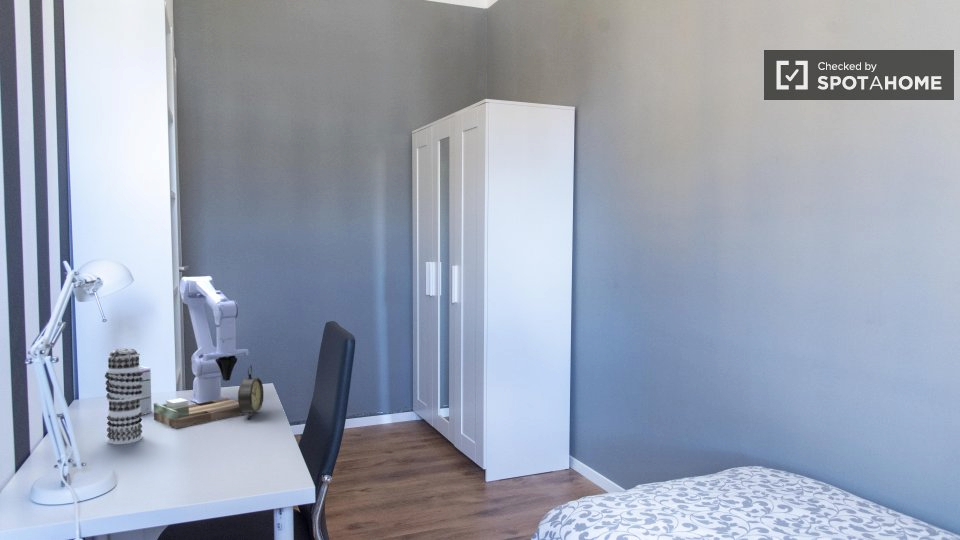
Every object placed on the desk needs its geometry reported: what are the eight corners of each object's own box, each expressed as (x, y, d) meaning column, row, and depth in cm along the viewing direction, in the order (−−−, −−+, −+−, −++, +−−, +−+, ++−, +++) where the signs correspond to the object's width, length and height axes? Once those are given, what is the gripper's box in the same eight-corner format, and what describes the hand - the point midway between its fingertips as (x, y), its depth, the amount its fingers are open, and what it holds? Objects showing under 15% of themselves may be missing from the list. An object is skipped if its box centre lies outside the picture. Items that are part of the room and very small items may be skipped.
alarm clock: (252, 420, 202) (252, 368, 201) (234, 420, 202) (234, 368, 201) (264, 411, 213) (264, 361, 212) (248, 411, 213) (247, 361, 212)
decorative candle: (104, 446, 176) (102, 353, 175) (107, 436, 185) (106, 348, 183) (142, 442, 180) (141, 351, 179) (144, 433, 188) (143, 346, 187)
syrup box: (152, 412, 210) (151, 367, 209) (134, 416, 205) (133, 370, 204) (142, 409, 213) (141, 365, 212) (124, 413, 208) (123, 368, 207)
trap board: (153, 419, 202) (153, 403, 202) (227, 404, 220) (227, 390, 220) (175, 428, 193) (175, 411, 193) (249, 412, 211) (249, 397, 211)
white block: (166, 413, 200) (166, 400, 200) (181, 410, 204) (181, 397, 203) (173, 416, 197) (173, 403, 197) (188, 413, 201) (188, 400, 200)
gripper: (210, 342, 205) (210, 385, 205) (253, 337, 215) (253, 378, 216) (199, 339, 209) (200, 382, 210) (242, 334, 220) (242, 375, 221)
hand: (226, 380), depth 213 cm, fingers closed
